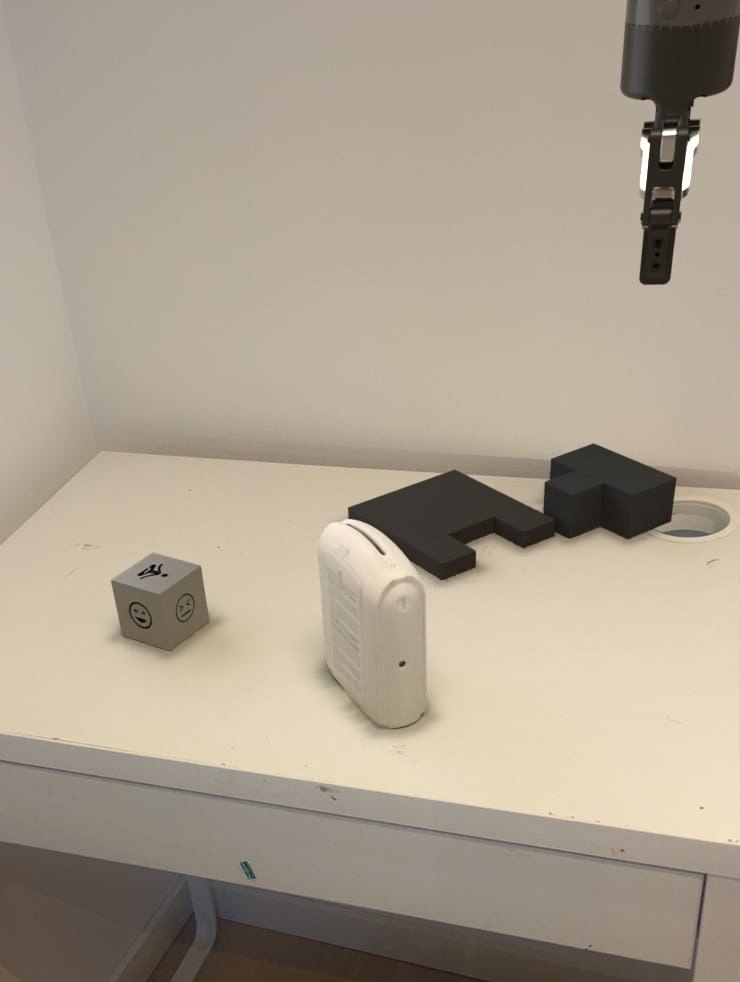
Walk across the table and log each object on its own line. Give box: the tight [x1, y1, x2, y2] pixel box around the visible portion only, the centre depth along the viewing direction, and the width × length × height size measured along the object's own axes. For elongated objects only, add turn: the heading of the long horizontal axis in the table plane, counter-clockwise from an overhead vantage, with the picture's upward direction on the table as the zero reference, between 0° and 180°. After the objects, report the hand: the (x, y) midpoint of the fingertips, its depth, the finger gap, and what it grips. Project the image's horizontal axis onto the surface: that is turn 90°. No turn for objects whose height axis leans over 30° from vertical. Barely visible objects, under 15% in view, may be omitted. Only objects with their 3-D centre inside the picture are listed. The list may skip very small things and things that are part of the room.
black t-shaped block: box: [542, 442, 677, 540], centre depth 100 cm, size 10×8×4 cm
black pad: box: [347, 469, 556, 581], centre depth 102 cm, size 12×14×2 cm
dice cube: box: [110, 552, 210, 652], centre depth 92 cm, size 5×5×5 cm
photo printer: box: [317, 518, 428, 729], centre depth 80 cm, size 10×4×12 cm, turn 23°
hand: (656, 266), depth 88 cm, fingers open, 8 cm apart
